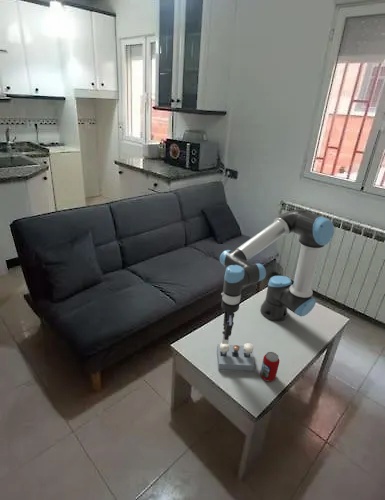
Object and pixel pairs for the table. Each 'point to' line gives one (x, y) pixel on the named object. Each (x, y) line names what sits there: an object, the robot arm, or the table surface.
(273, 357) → the beverage can
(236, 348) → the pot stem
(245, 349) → the knob
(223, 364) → the mount
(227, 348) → the knob
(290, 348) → the table surface
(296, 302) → the robot arm
